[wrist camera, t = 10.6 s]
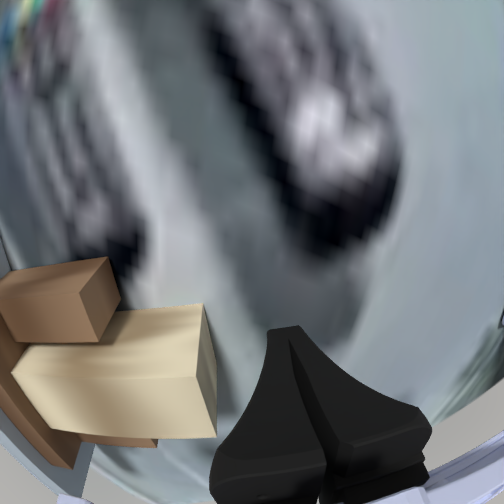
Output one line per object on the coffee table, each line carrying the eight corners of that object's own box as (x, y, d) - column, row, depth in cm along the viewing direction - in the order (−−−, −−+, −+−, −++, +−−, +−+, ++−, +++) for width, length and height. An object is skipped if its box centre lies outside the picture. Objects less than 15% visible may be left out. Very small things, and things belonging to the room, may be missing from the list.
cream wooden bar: (203, 301, 13) (195, 376, 9) (217, 362, 14) (217, 437, 10) (51, 314, 13) (10, 372, 8) (77, 367, 14) (50, 428, 10)
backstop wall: (-9, 201, 10) (-98, 249, 4) (98, 432, 16) (80, 503, 11) (-26, 208, 10) (-109, 255, 4) (81, 430, 16) (61, 498, 10)
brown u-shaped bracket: (108, 256, 11) (53, 328, 7) (163, 405, 15) (152, 480, 10) (9, 271, 11) (-51, 326, 7) (75, 402, 15) (51, 465, 10)
